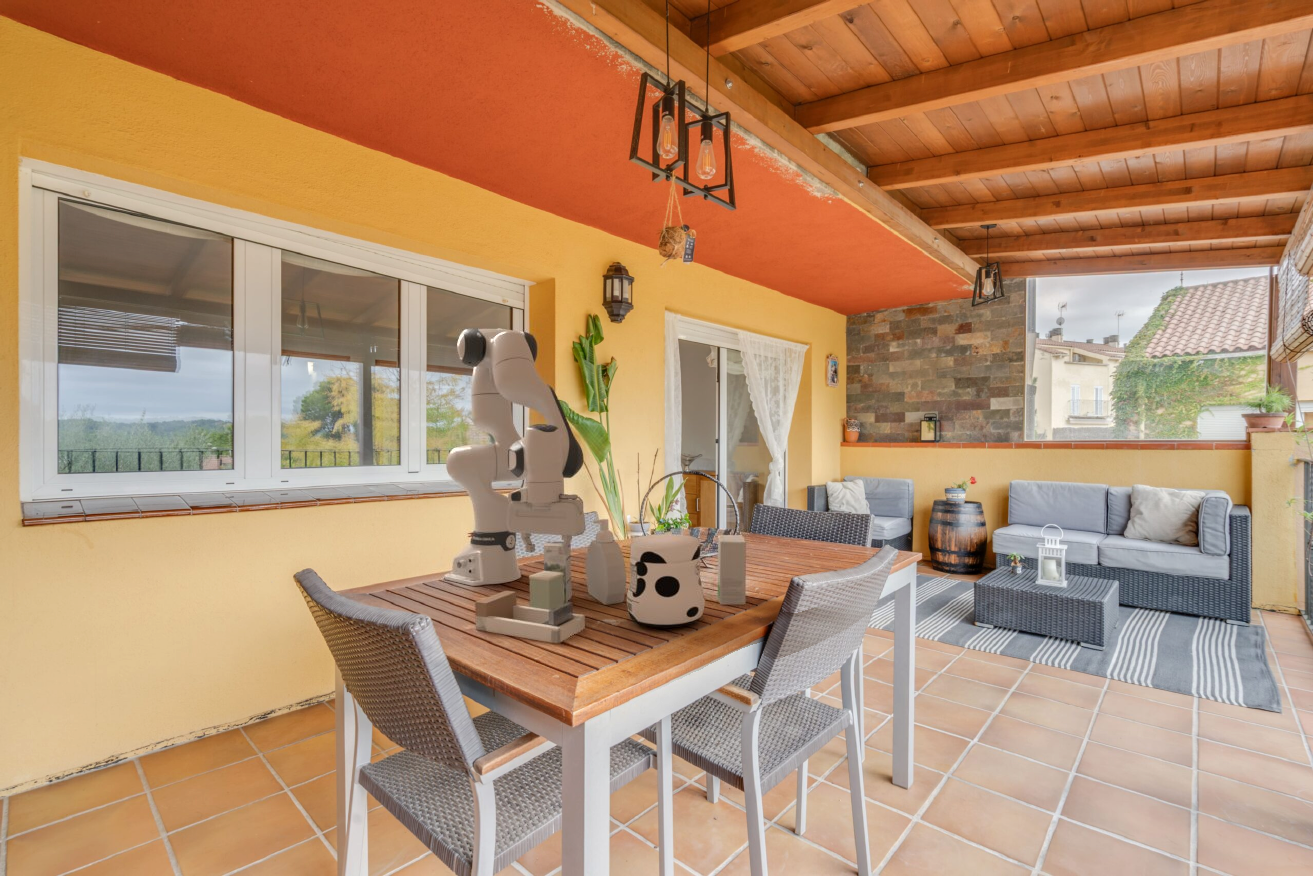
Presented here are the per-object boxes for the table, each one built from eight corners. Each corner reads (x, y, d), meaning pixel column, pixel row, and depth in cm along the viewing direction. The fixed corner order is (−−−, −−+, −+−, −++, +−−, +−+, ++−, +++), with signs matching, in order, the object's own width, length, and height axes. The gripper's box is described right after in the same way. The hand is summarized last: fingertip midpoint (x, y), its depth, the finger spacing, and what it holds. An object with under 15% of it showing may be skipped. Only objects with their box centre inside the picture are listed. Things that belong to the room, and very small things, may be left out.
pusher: (537, 635, 127) (536, 609, 127) (556, 625, 133) (556, 600, 133) (553, 638, 125) (553, 611, 125) (572, 628, 131) (572, 602, 131)
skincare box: (717, 595, 156) (716, 534, 155) (743, 595, 155) (743, 534, 155) (719, 605, 147) (718, 540, 147) (747, 605, 147) (746, 540, 147)
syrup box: (572, 597, 157) (571, 540, 156) (566, 603, 151) (565, 544, 151) (550, 596, 157) (549, 540, 157) (543, 603, 151) (542, 544, 151)
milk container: (718, 616, 139) (717, 537, 138) (679, 639, 124) (677, 550, 124) (655, 605, 148) (653, 531, 148) (611, 625, 134) (609, 543, 133)
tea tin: (529, 615, 142) (528, 576, 142) (544, 608, 147) (543, 570, 147) (549, 618, 140) (548, 578, 139) (564, 611, 145) (563, 572, 144)
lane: (475, 629, 132) (475, 601, 132) (506, 616, 141) (505, 590, 141) (557, 643, 123) (556, 613, 122) (584, 628, 131) (584, 601, 131)
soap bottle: (584, 592, 161) (583, 516, 161) (603, 589, 163) (602, 515, 163) (606, 608, 147) (605, 525, 146) (627, 605, 149) (625, 523, 149)
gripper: (590, 493, 141) (591, 553, 141) (519, 492, 150) (521, 548, 150) (574, 495, 135) (576, 558, 135) (502, 494, 144) (503, 553, 144)
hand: (546, 553), depth 143 cm, fingers open, 8 cm apart
